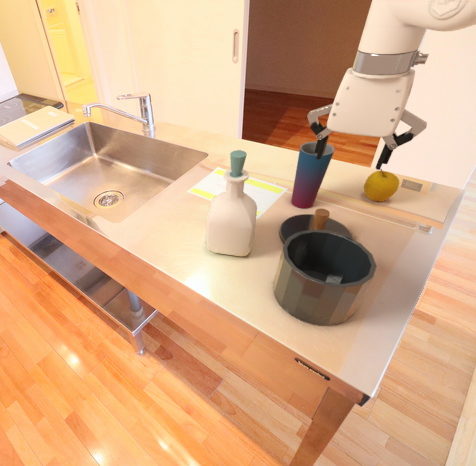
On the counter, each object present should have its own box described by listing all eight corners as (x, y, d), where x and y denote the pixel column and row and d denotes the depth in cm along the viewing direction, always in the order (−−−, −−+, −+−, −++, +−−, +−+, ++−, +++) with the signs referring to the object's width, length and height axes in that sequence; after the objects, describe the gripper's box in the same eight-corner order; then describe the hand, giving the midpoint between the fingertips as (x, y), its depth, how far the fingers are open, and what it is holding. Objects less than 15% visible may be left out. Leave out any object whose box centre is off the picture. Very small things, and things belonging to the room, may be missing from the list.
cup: (319, 198, 81) (336, 143, 72) (314, 213, 77) (332, 157, 68) (290, 193, 85) (303, 139, 75) (284, 207, 80) (297, 152, 71)
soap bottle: (252, 232, 75) (267, 142, 60) (249, 261, 68) (265, 167, 54) (210, 227, 78) (215, 140, 63) (204, 254, 72) (207, 164, 57)
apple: (357, 191, 82) (368, 163, 76) (387, 193, 79) (401, 164, 74) (361, 205, 77) (373, 177, 72) (393, 208, 75) (408, 179, 70)
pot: (361, 286, 60) (382, 245, 53) (344, 339, 53) (366, 300, 46) (286, 260, 67) (297, 221, 60) (262, 303, 60) (271, 265, 53)
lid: (358, 229, 71) (369, 203, 67) (342, 269, 63) (354, 243, 59) (291, 211, 79) (297, 187, 74) (270, 245, 71) (275, 220, 66)
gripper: (457, 56, 47) (407, 161, 58) (326, 55, 56) (304, 145, 67) (456, 71, 43) (402, 180, 54) (314, 67, 52) (293, 161, 63)
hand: (347, 161), depth 60 cm, fingers open, 9 cm apart
